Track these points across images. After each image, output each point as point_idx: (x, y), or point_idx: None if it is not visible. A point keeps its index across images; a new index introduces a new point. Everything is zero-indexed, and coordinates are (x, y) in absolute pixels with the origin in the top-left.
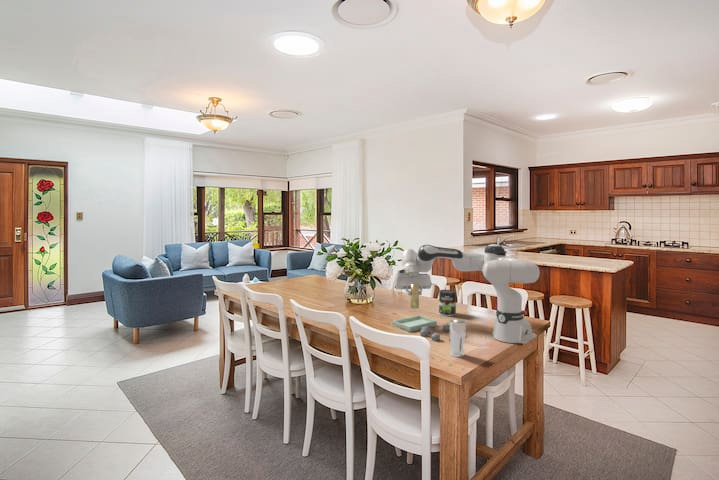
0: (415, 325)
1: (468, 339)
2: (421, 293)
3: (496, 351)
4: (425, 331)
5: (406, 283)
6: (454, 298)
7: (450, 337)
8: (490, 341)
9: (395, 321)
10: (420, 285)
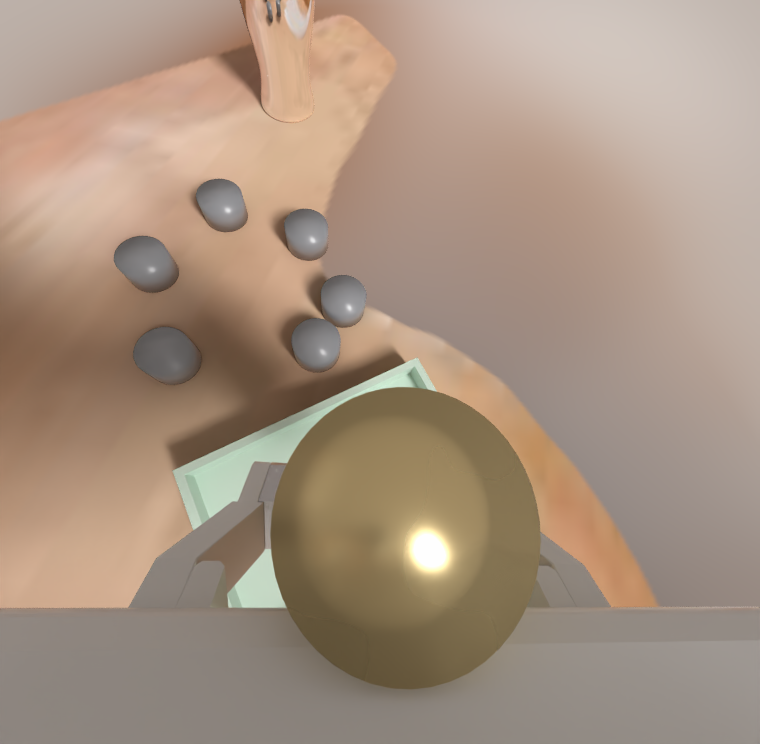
0: (371, 385)
1: (137, 216)
2: (259, 462)
3: (109, 89)
4: (343, 278)
5: (684, 703)
6: None
7: (313, 20)
8: (39, 173)
9: None
10: (187, 611)
